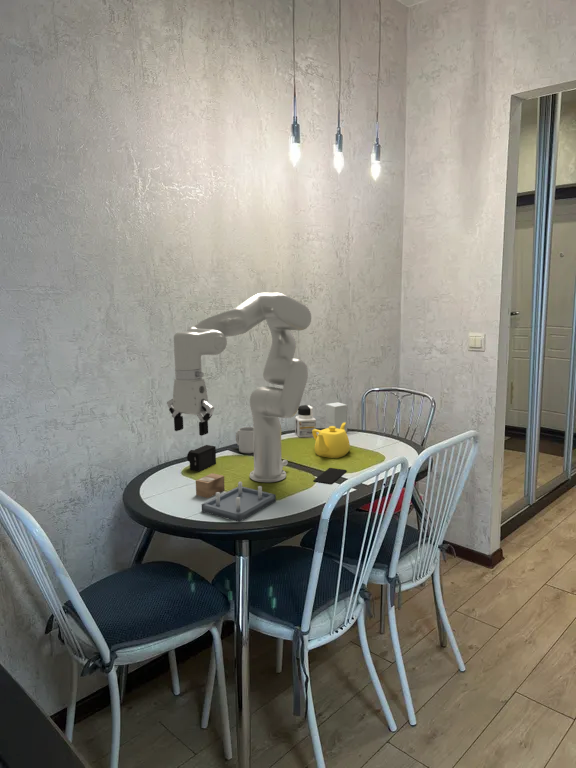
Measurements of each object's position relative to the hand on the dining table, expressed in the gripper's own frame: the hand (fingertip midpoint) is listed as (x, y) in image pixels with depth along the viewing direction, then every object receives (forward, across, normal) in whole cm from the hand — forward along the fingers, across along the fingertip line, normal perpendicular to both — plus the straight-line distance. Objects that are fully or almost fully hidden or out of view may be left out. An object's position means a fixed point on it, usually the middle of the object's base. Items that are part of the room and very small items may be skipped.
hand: (191, 432), depth 164 cm
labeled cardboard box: (+23, +3, -11) cm, 26 cm away
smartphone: (+24, -22, -45) cm, 55 cm away
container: (+24, +13, -87) cm, 91 cm away
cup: (+24, +22, -54) cm, 63 cm away
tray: (+23, -12, -7) cm, 27 cm away
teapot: (+24, -9, -69) cm, 73 cm away
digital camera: (+24, +23, -29) cm, 44 cm away
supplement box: (+24, +4, -99) cm, 102 cm away
